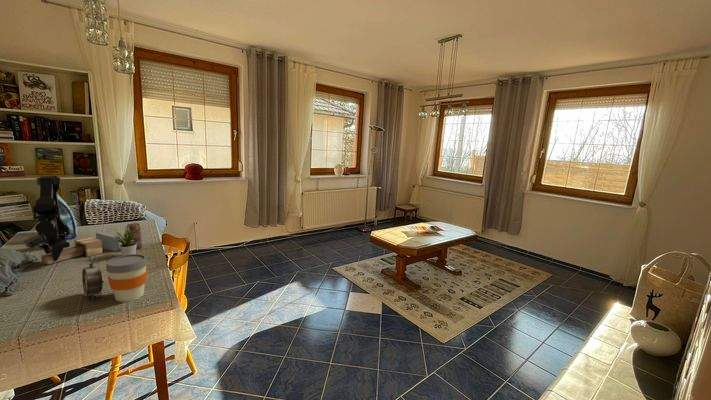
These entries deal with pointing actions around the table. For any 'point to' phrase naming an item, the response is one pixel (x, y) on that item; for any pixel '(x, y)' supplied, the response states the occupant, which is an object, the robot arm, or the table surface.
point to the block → (90, 245)
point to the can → (138, 241)
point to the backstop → (108, 241)
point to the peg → (63, 255)
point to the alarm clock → (92, 280)
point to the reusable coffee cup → (127, 276)
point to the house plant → (128, 241)
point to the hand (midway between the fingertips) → (53, 259)
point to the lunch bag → (67, 217)
